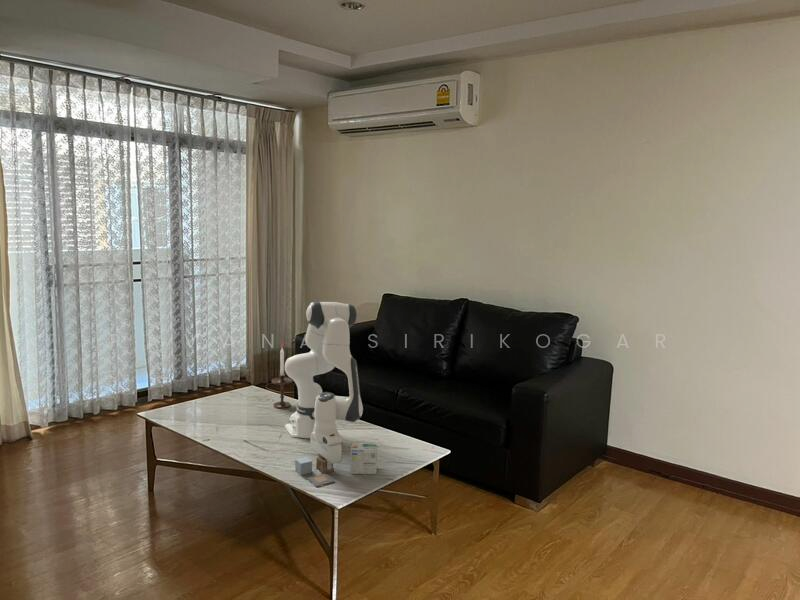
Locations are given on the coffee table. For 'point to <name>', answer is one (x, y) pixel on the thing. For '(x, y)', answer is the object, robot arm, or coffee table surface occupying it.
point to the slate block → (303, 465)
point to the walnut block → (322, 465)
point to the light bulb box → (363, 458)
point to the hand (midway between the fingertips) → (324, 465)
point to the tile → (321, 480)
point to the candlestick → (282, 383)
